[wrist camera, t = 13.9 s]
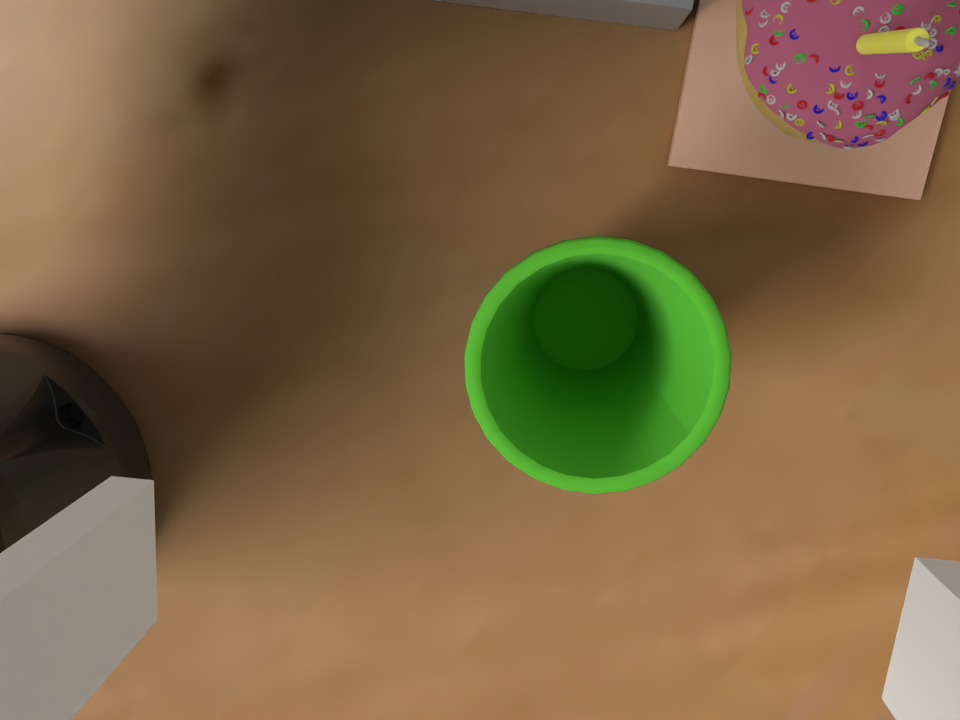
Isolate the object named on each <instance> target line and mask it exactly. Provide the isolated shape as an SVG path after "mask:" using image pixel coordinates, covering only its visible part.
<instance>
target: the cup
mask: <svg viewBox="0 0 960 720" xmlns="http://www.w3.org/2000/svg"><path fill="white" fill-rule="evenodd" d="M464 361H465V386H466V389H467V393H468V397H469V400H470V404H471V408H472V411H473V414H474V416H475V418H476V419H477V421H478V423H479V425H480V427H481V428H482V430H483V432H484V434H485V436H486V437H487V439H488V440H489V441H490V442H491V444H492V445H493V446H494V447H495V448H496V449H497V450H498V451H499V452H500V453H501V454H502V455H503V457H504V458H505V459H506V460H507V461H508V462H510V463H511V464H512V465H514V466H515V467H517V468H518V469H520V470H521V471H523V472H524V473H526V474H527V475H529V476H530V477H532V478H533V479H536V480H539V481H541V482H544V483H546V484H549V485H552V486H554V487H557V488H560V489H562V490H570V491H577V492H584V493H591V494H595V493H607V492H619V491H626V490H629V489H632V488H635V487H638V486H641V485H644V484H647V483H650V482H654V481H655V480H657V479H659V478H660V477H662V476H664V475H665V474H667V473H669V472H670V471H672V470H674V469H675V468H677V467H679V466H680V465H682V464H683V463H684V462H685V461H686V460H687V459H688V458H689V457H690V456H691V455H692V454H693V453H694V452H695V451H696V450H697V449H698V448H699V447H700V446H701V445H702V444H703V443H704V441H705V440H706V438H707V437H708V435H709V433H710V432H711V430H712V429H713V427H714V425H715V424H716V422H717V421H718V419H719V417H720V415H721V412H722V409H723V406H724V402H725V399H726V396H727V393H728V390H729V387H730V371H731V350H730V345H729V340H728V335H727V330H726V325H725V322H724V320H723V318H722V316H721V314H720V312H719V310H718V308H717V306H716V304H715V302H714V300H713V298H712V296H711V294H710V293H709V292H708V291H707V290H706V288H705V287H704V286H703V285H702V284H701V283H700V281H699V280H698V279H697V278H696V277H695V276H694V275H693V273H692V272H691V271H690V270H689V269H687V268H686V267H685V266H683V265H682V264H680V263H679V262H677V261H676V260H674V259H673V258H671V257H670V256H669V255H667V254H666V253H664V252H663V251H661V250H658V249H655V248H652V247H650V246H647V245H644V244H642V243H639V242H636V241H634V240H631V239H622V238H613V237H604V236H592V237H585V238H577V239H570V240H564V241H561V242H558V243H556V244H553V245H551V246H548V247H546V248H543V249H540V250H538V251H535V252H533V253H532V254H530V255H529V256H527V257H526V258H525V259H523V260H522V261H520V262H519V263H517V264H516V265H515V266H513V267H512V268H510V269H509V270H507V271H506V272H505V274H504V275H503V276H502V277H501V278H500V279H499V280H498V282H497V283H496V284H495V285H494V286H493V287H492V288H491V290H490V291H489V292H488V293H487V294H486V295H485V297H484V299H483V301H482V303H481V305H480V307H479V309H478V311H477V313H476V315H475V317H474V319H473V321H472V323H471V327H470V331H469V335H468V340H467V344H466V348H465V353H464Z"/></svg>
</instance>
